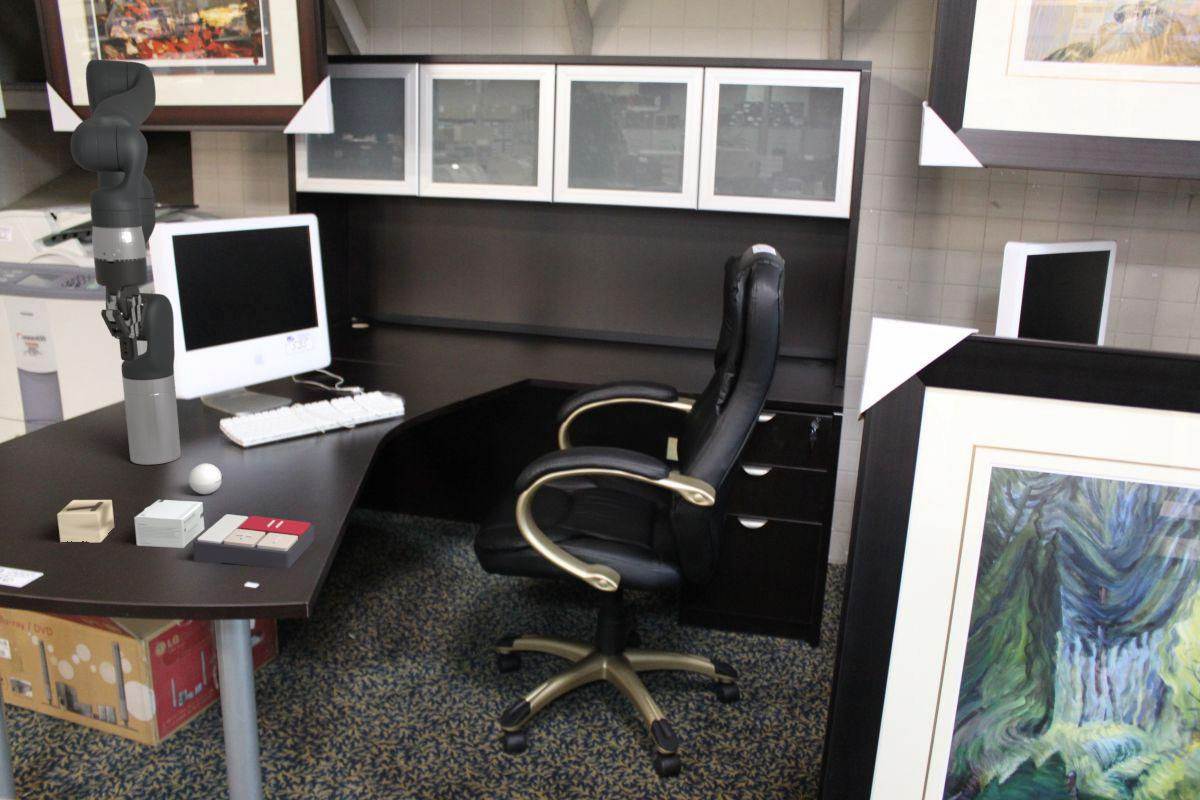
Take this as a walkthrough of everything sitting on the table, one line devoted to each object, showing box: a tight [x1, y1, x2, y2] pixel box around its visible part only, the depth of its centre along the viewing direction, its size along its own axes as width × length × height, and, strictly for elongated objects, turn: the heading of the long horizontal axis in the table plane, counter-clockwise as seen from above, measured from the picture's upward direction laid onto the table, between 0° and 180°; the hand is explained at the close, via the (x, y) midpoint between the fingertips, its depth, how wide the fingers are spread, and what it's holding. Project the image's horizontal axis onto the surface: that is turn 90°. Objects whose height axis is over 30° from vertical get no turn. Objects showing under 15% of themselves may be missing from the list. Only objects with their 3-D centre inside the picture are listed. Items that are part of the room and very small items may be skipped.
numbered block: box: [57, 499, 115, 543], centre depth 152 cm, size 6×6×5 cm
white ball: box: [188, 462, 223, 495], centre depth 173 cm, size 8×6×6 cm
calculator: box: [192, 513, 315, 569], centre depth 150 cm, size 11×4×15 cm
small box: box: [133, 499, 205, 549], centre depth 153 cm, size 8×8×5 cm
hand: (129, 359), depth 156 cm, fingers closed
